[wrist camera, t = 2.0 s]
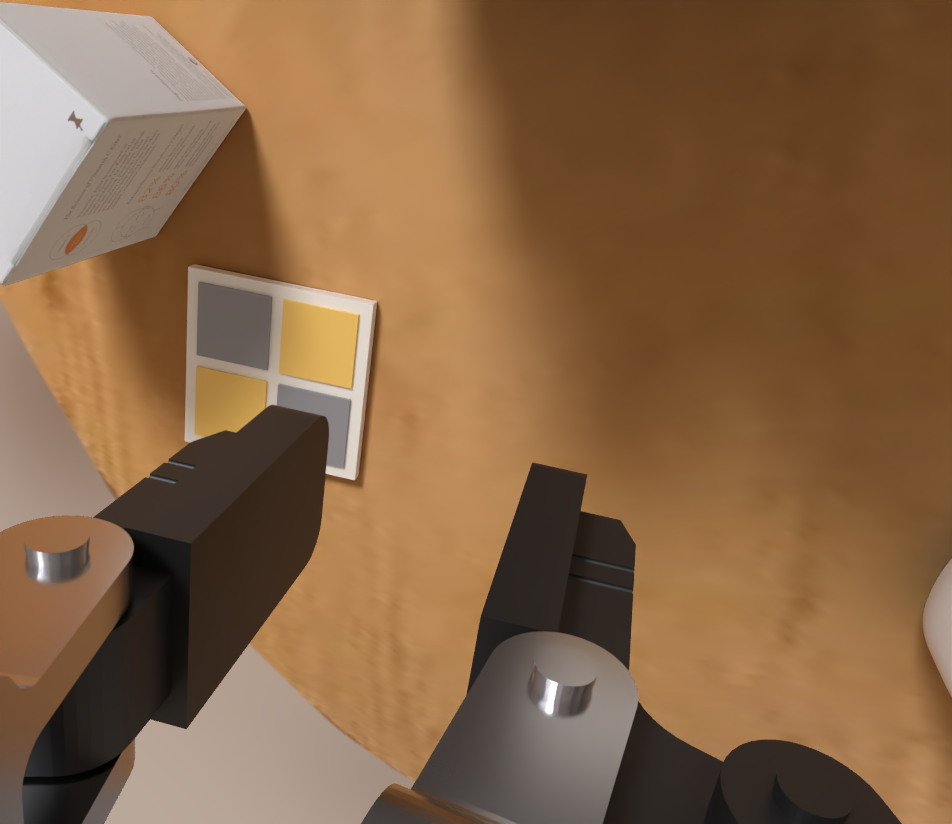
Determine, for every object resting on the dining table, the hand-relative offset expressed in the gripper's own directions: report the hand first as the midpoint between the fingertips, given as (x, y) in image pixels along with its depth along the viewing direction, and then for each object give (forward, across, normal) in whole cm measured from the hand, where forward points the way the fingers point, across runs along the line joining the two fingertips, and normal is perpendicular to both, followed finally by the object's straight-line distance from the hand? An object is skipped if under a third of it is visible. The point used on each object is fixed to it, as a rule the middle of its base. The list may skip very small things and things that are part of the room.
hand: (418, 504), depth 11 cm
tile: (+27, +13, +10) cm, 32 cm away
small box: (+27, +20, 0) cm, 34 cm away
